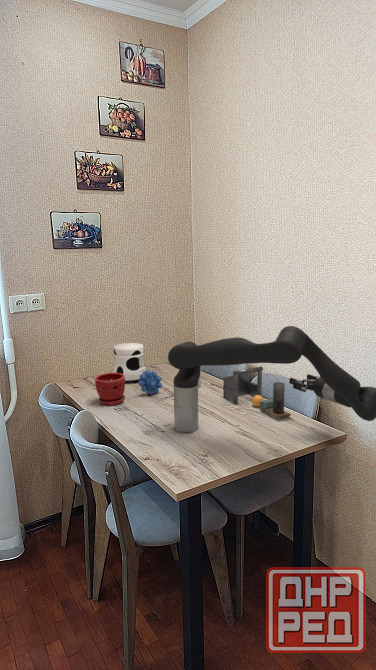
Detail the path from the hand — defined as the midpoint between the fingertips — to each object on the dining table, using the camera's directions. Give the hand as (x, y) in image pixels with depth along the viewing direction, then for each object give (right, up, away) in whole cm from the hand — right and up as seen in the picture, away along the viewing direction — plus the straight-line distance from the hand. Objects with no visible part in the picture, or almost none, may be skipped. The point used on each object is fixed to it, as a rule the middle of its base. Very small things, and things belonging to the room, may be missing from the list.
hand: (298, 378), depth 171 cm
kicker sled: (-6, -15, +15) cm, 22 cm away
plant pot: (-76, -14, +33) cm, 84 cm away
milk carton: (-40, -10, +52) cm, 67 cm away
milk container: (-72, -7, +67) cm, 99 cm away
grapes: (-59, -12, +41) cm, 73 cm away
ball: (-12, -12, +24) cm, 30 cm away
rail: (-6, -16, +15) cm, 23 cm away
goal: (-17, -12, +35) cm, 41 cm away
